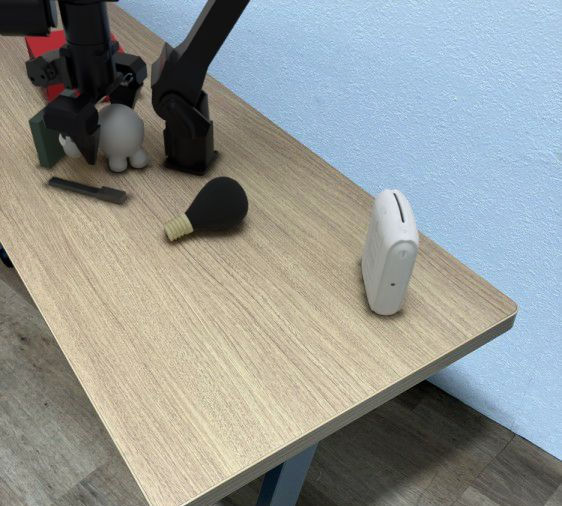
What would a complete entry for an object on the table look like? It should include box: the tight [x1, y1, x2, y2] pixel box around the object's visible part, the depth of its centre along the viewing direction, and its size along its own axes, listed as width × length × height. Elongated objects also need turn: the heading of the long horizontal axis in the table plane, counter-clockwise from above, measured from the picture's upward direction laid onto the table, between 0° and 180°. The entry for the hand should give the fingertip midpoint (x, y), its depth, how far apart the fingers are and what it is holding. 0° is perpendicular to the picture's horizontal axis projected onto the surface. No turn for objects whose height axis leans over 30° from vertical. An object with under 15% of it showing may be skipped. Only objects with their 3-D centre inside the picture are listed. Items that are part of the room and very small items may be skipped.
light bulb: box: [162, 176, 249, 242], centre depth 81 cm, size 7×7×12 cm
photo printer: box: [361, 188, 420, 316], centre depth 73 cm, size 10×4×12 cm, turn 4°
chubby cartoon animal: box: [59, 103, 149, 173], centre depth 88 cm, size 7×12×8 cm, turn 111°
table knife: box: [47, 176, 128, 205], centre depth 86 cm, size 11×2×1 cm, turn 72°
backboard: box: [27, 89, 77, 169], centre depth 90 cm, size 2×10×7 cm, turn 162°
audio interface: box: [23, 29, 126, 103], centre depth 105 cm, size 18×14×5 cm
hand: (107, 148), depth 90 cm, fingers open, 9 cm apart
